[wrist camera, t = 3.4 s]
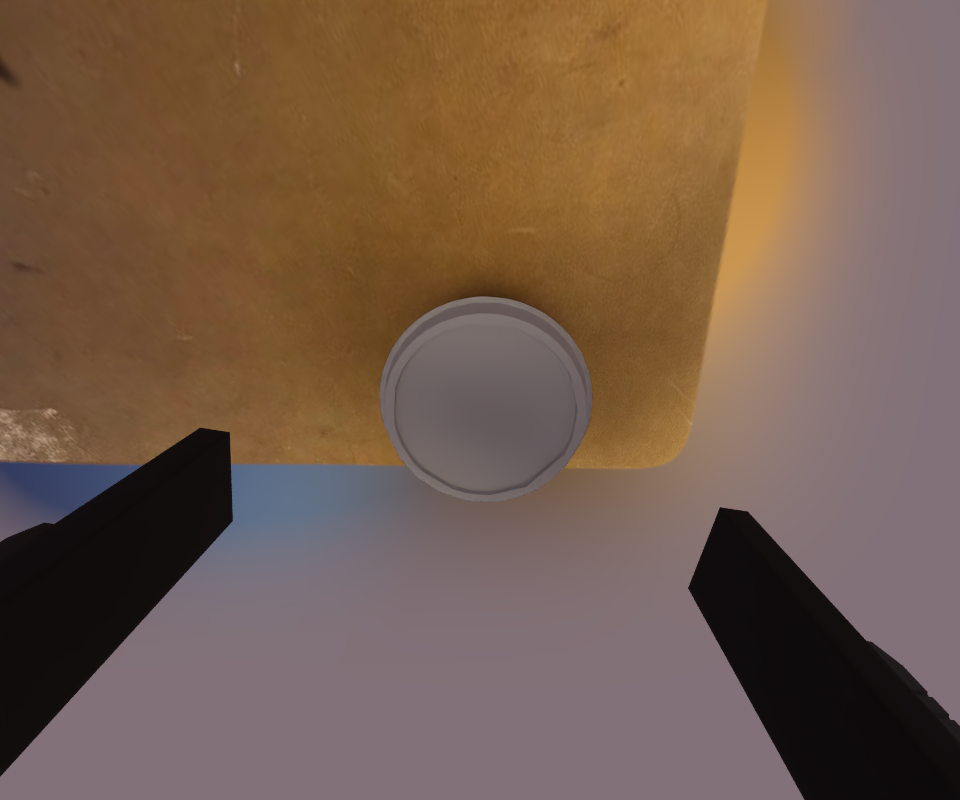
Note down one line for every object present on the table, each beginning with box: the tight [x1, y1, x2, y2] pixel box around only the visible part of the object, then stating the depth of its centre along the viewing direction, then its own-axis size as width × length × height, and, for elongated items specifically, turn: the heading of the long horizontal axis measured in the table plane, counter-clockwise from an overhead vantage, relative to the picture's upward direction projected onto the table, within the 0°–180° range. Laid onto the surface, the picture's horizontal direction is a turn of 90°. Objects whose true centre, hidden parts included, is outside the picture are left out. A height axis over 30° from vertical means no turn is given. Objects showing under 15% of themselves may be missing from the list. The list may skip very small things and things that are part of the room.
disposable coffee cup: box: [380, 296, 593, 502], centre depth 25 cm, size 10×10×12 cm
